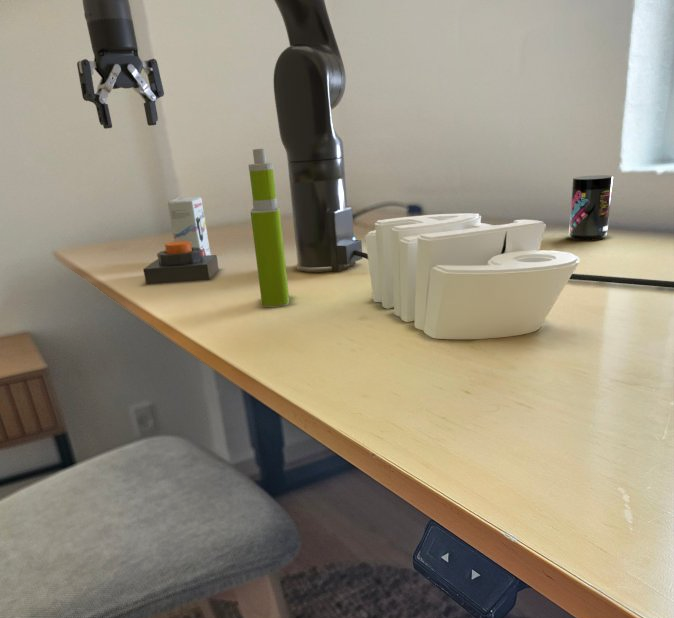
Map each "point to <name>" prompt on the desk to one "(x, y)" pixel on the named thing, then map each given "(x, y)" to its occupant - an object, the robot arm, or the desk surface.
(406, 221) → the white wavy slab sculpture
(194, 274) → the push button base
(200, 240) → the ink box
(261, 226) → the vape
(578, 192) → the supplement container
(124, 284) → the desk surface
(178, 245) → the power button
